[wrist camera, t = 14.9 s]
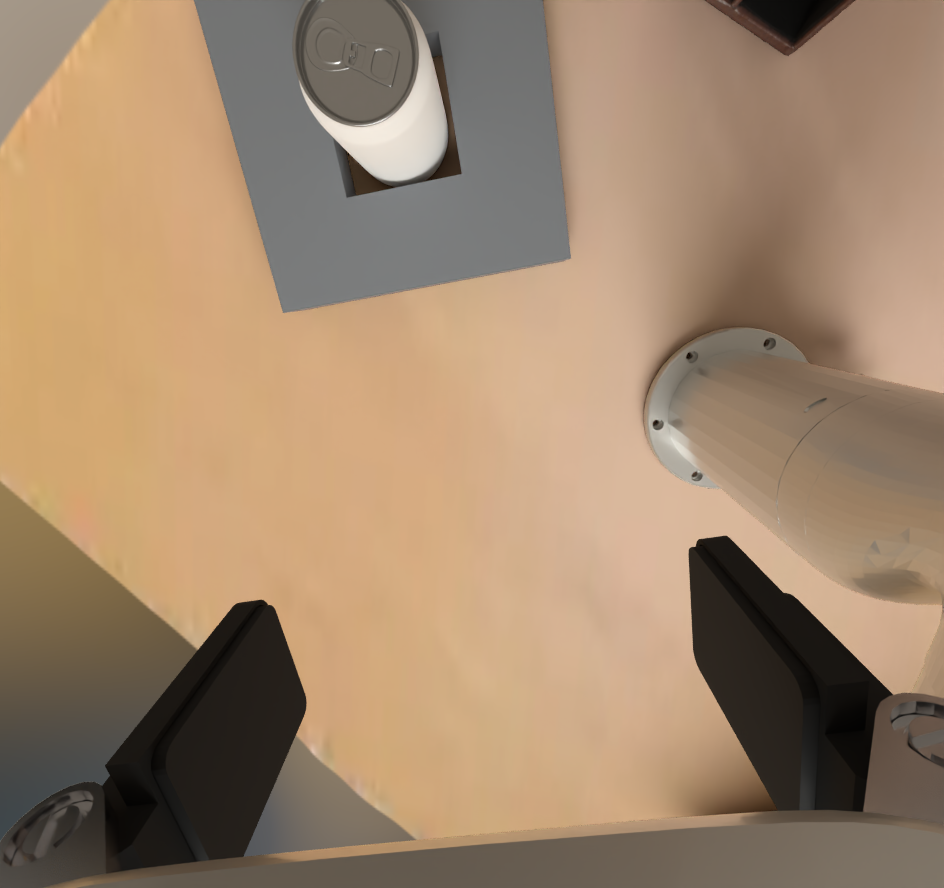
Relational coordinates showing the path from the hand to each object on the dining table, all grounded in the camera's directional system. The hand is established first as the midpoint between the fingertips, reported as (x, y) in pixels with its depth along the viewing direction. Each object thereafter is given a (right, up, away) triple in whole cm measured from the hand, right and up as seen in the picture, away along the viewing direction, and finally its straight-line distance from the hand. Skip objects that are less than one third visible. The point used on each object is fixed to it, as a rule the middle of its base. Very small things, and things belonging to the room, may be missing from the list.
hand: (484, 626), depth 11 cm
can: (-5, +25, +22) cm, 34 cm away
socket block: (-5, +25, +22) cm, 34 cm away
